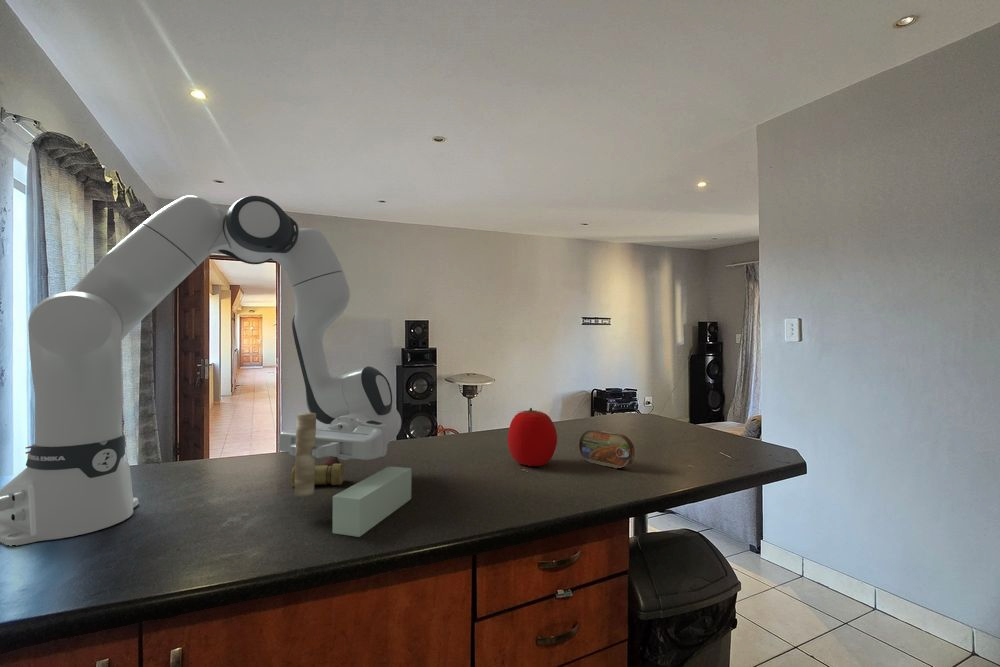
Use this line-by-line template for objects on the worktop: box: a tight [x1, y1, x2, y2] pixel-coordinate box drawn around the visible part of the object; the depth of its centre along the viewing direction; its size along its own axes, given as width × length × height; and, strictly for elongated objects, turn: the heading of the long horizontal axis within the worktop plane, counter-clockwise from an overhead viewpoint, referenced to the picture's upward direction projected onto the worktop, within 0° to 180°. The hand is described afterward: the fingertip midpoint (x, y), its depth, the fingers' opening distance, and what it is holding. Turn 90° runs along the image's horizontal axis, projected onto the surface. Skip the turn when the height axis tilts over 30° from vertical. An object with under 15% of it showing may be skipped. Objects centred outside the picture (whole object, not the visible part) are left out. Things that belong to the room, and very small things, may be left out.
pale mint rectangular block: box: [331, 465, 412, 538], centre depth 84 cm, size 5×18×6 cm, turn 164°
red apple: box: [507, 407, 558, 467], centre depth 117 cm, size 13×11×14 cm
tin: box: [578, 429, 636, 468], centre depth 117 cm, size 15×3×8 cm, turn 43°
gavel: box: [290, 456, 345, 488], centre depth 109 cm, size 21×5×10 cm
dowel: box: [293, 412, 317, 497], centre depth 82 cm, size 3×3×14 cm
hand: (303, 452), depth 82 cm, fingers closed on dowel, 3 cm apart
